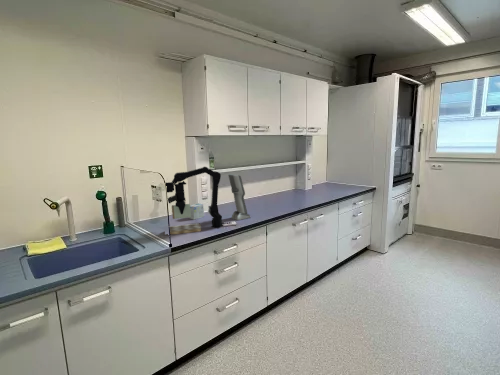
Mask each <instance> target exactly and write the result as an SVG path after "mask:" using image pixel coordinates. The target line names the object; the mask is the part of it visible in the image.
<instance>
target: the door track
mask: <svg viewBox="0 0 500 375" xmlns="http://www.w3.org/2000/svg"><path fill="white" fill-rule="evenodd" d="M169 227H170V234H171V235H179V234H189V233H196V232H202V226H201V222H200V223H191V224H183V225H172V226H169Z"/></svg>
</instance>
